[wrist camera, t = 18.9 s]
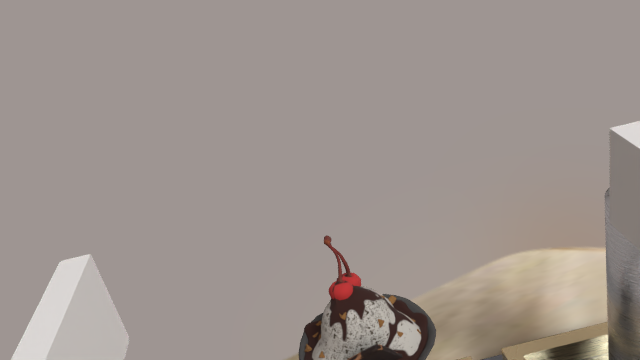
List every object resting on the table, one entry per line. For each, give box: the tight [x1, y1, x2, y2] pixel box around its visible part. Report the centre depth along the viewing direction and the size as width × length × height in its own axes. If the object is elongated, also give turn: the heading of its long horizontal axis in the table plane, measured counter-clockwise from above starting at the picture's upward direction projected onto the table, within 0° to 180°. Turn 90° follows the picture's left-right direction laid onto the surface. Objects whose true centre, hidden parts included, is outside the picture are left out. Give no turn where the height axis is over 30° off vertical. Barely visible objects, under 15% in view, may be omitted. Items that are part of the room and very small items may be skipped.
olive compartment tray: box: [457, 187, 640, 360], centre depth 31 cm, size 30×14×15 cm, turn 96°
